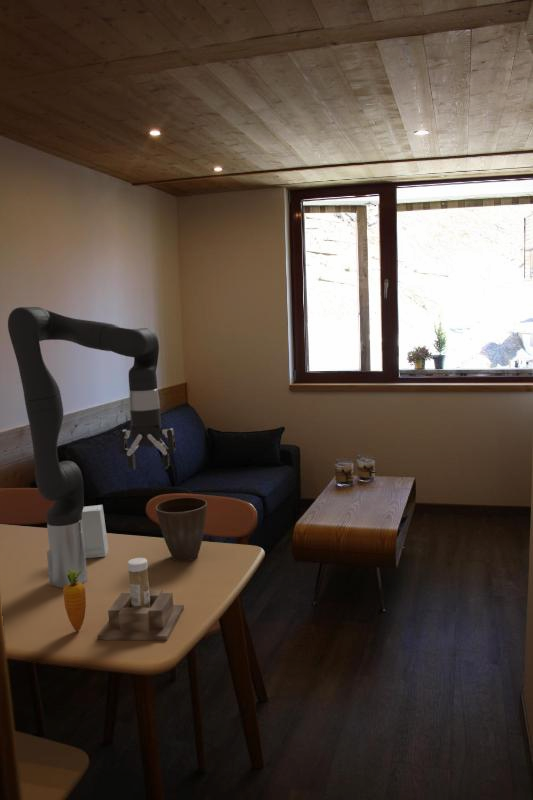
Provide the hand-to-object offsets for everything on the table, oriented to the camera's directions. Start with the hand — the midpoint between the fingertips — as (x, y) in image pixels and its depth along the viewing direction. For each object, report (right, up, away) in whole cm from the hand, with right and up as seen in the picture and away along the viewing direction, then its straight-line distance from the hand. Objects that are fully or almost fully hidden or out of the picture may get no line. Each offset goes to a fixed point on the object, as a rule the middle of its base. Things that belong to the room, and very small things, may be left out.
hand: (149, 469), depth 180 cm
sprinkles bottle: (+1, -33, -17) cm, 37 cm away
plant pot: (+6, -29, +26) cm, 39 cm away
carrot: (-13, -36, -19) cm, 43 cm away
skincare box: (-22, -29, +31) cm, 48 cm away
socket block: (+1, -35, -16) cm, 38 cm away
